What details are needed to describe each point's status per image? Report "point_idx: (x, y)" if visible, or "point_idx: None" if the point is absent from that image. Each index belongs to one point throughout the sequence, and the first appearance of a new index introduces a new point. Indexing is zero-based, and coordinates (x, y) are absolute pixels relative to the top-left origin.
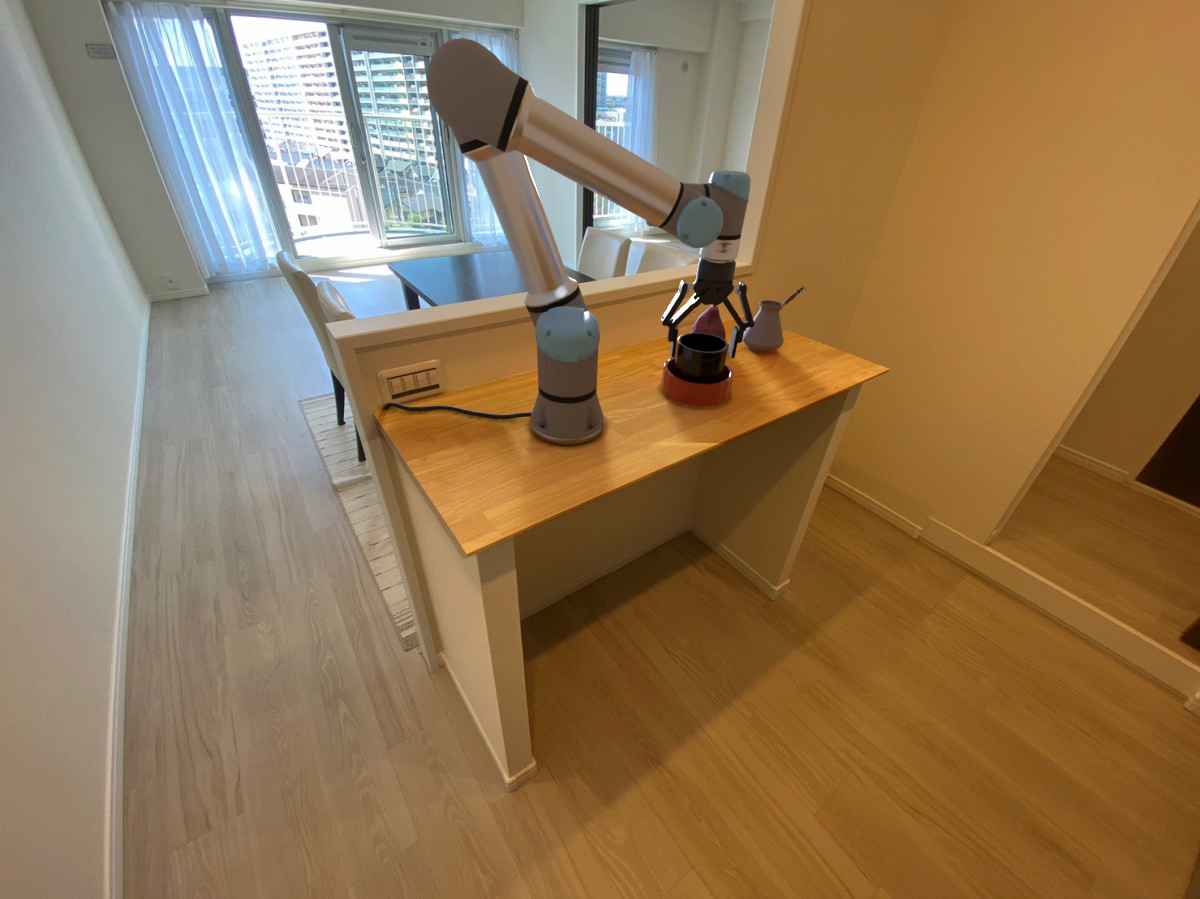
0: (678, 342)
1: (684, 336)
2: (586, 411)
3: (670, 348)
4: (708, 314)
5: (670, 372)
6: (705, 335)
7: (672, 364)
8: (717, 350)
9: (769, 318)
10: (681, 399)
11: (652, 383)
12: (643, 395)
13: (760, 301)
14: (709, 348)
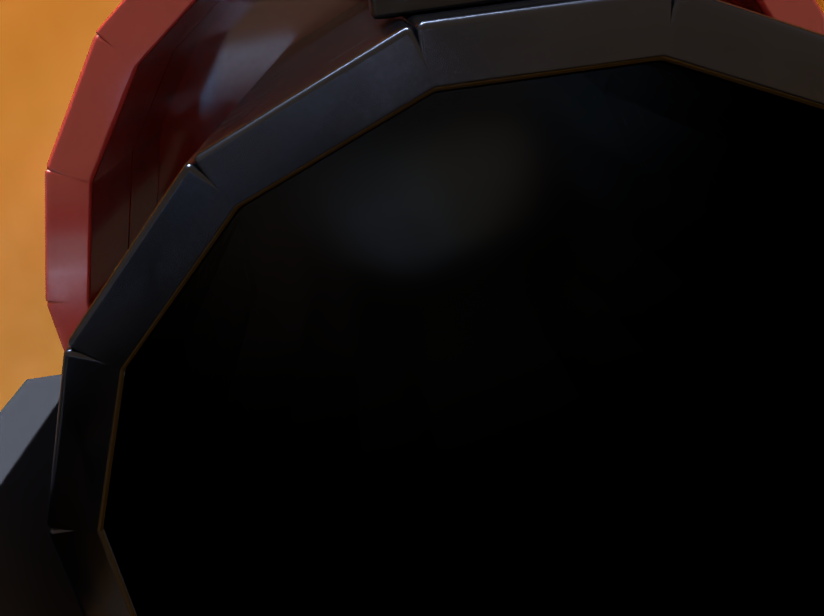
0: (84, 602)
1: (177, 294)
2: None
3: (2, 425)
4: None
5: (172, 69)
6: (707, 76)
7: (160, 56)
8: (808, 197)
9: None
10: None
11: (33, 124)
12: (4, 356)
13: None
14: (701, 82)
